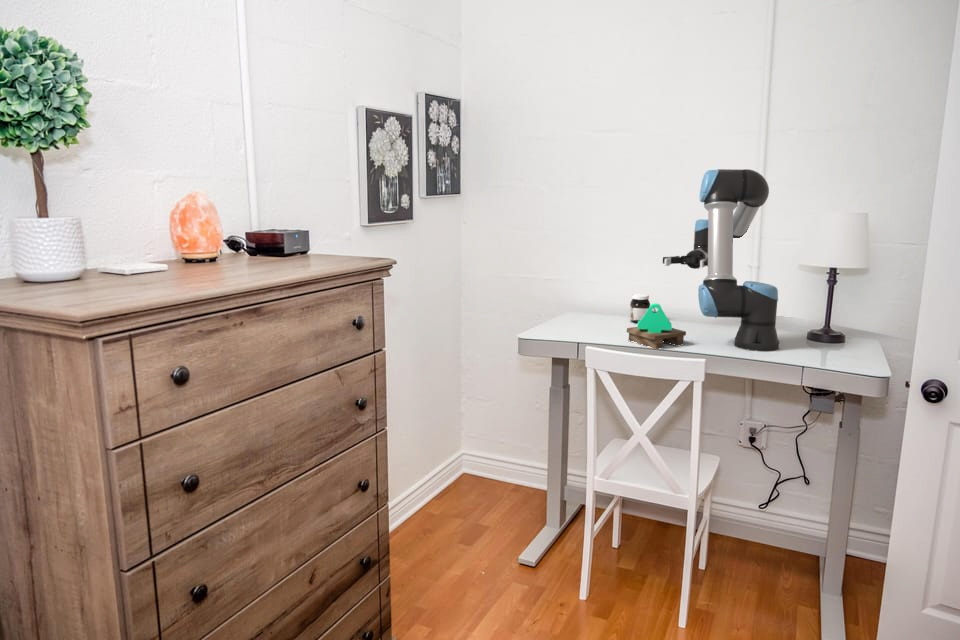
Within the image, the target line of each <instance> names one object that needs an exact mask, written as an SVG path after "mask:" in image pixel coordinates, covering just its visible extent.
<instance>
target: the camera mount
mask: <svg viewBox="0 0 960 640" xmlns="http://www.w3.org/2000/svg"><path fill="white" fill-rule="evenodd" d="M653 308H655V309H657V310H656V312H653ZM637 327H638V329H648V332H653V333H661V330H672V328H673V327H672V322H671V321H670V320H669V318H668V317H667V316H666V314H665V312H664V311H663V308H662V306H661V304H659V303H657V302H654V303H652V304H651V303H650V307H649V309H648V310H647V312H646V313H645V315H644V316H643V317H642V319H641V320H640V321H638V324H637Z"/></svg>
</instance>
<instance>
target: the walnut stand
mask: <svg viewBox="0 0 960 640" xmlns="http://www.w3.org/2000/svg"><path fill="white" fill-rule="evenodd" d="M626 332H627V333H628V341H629V340H630V341H629V342H631V341H634V342H637V343H640V344H639V345H641V344H643V345H642V346H644V345H647V346H650V347H652V348H651V349H654V350H660V349H659V348H661V349H663V348H662V347H663V346H664V343H665V342H668V343H671V344H670V345H672V344H675V345H680V346H682V345H681V344H683V345H684V337H685V336H686V335H687V331H685V330H681V329H679V328H674V327H672V330H661V333H653V332H648V329H638V326H634V327H627V328H626ZM663 341H664V342H663ZM634 342H633V343H634ZM637 343H636V344H637ZM668 343H667V344H668ZM675 345H674V346H675ZM647 346H646V347H647ZM650 347H649V348H650Z"/></svg>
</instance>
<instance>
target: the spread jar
mask: <svg viewBox="0 0 960 640" xmlns="http://www.w3.org/2000/svg"><path fill="white" fill-rule="evenodd" d="M631 297H632V298H631V301H630V304H629V321H630V322H631V323H632V322H633V323H632V324H637V323H638V321H640V320H641V319H642V317H643V316H644V315H645V313H646V312H647V310H648V309H649V307H650V305H651V302H650V296H649V294H645V293H636V294H635V293H634V294H632V296H631ZM653 312H657V310H656V308H653Z"/></svg>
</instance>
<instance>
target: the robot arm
mask: <svg viewBox="0 0 960 640" xmlns="http://www.w3.org/2000/svg"><path fill="white" fill-rule="evenodd" d="M699 189H700V190H699V202H701V203H703V207H704V209H705V210H706V211H707V212H708V213H707V214H708V215H707V216H708V219H697V220H696V221H695V223H694V224H695V225H694V226H695V227H694V231H693V232H694V236H693V237H694V238H693V239H694V240H693V250H691V251H689V252H687V254H686V255H675V256H663V257H662V264H664V267H667V266H668V267H669V266H671V265H672V264H675V265H676V264H680V265H684V266H685V265H687V267H689V268H691V269H697V270H698V269H700V268H701V269H702V268H704V267H707V276H706V277H705V278H704V279H703V280H702V281H703V282H702V284H699V286H698V294H697V296H698V305H699V308H700V311H701V314H702V315H703V316H705V317H707V318H715V319H716V318H734V319H735V318H737V319H738V318H740V325H739V328H738V330H737V333H736V335H735V337H734V343H733V345H734V346H735V347H736V346H737V348H740V349H742V348H743V350H747V349H749V350H748V351H755V350H757V351H758V352H771V351H772V352H773V351H776V350H778V349H779V348H780V340H779V337H778V333H777V329H776V325H777V323H776V322H777V321H776V320H777V311H778V310H777V309H778V301H779V291H778V287H776V286H775V285H772V284H769V283H764V282H760V281H752V280H751V281H748V280H746V281H743V283H742V285H738V279H737V278H736V277H735V276H734V273H733V269H734V267H733V265H734V262H733V261H734V258H733V257H734V256H733V255H734V252H733V251H734V248H733V247H734V243H733V238H740V237H742V236H743V235H744V234H745V233H746V232H747V230H748V228H749V226H750V227H751V224H752V223H753V220H754V218H755V216H756V215H757V212H758V211H759V209H760V207H762V206H763V205H764V204H765V203H766V201H767V200H768V197H769V196H770V195H769V194H770V187H769V184H768V182H767V179H766V178H765V177H764V176H763V175H762V174H760V172H757V171H755V170H754V169H748V168H747V169H725V168H723V169H722V168H721V169H719V168H718V169H710V170H706V171H705V173H704V174H703V177H702V180H701V184H700V188H699ZM734 210H735V211H734ZM698 246H700V247H698Z"/></svg>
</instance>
